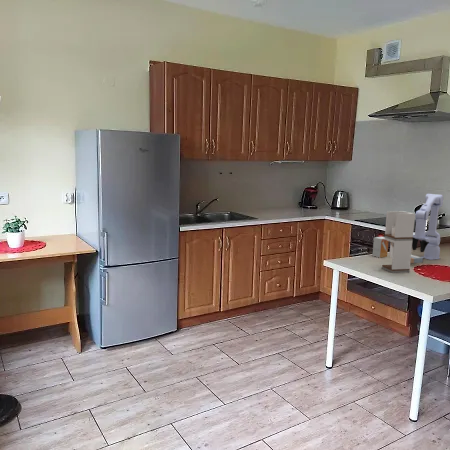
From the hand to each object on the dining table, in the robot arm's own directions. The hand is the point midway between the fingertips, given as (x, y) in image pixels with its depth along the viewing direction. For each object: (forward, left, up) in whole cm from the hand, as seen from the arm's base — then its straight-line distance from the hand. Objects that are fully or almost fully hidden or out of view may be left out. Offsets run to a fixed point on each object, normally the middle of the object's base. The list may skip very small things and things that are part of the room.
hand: (418, 250), depth 271 cm
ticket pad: (-7, -12, -9) cm, 17 cm away
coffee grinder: (+22, +5, -10) cm, 24 cm away
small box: (+6, -27, -10) cm, 29 cm away
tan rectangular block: (-1, -9, -9) cm, 13 cm away
